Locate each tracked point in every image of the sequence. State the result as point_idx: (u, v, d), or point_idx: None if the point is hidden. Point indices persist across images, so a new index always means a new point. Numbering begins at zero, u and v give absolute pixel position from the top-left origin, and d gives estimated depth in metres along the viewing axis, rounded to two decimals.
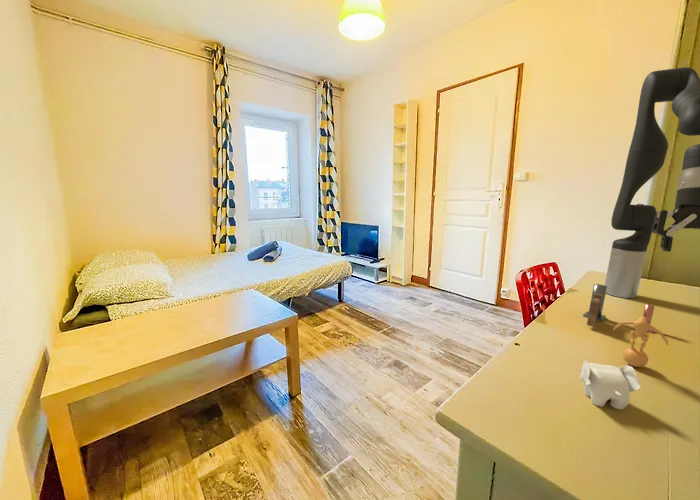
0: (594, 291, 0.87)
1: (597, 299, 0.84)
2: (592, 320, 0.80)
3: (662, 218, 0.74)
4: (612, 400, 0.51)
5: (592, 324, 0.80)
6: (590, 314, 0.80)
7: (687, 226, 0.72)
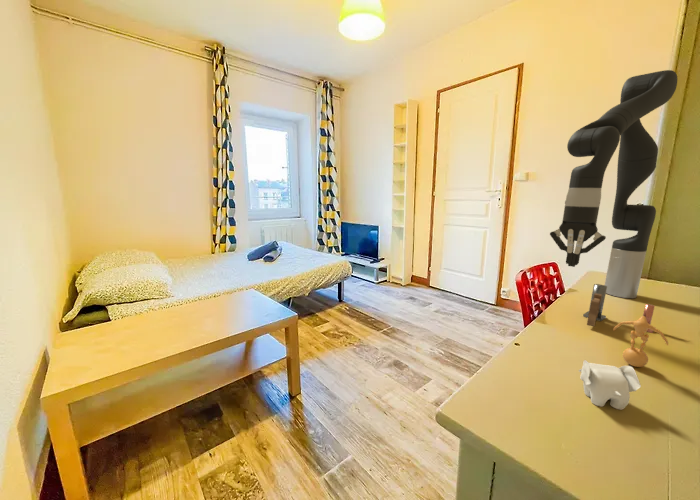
0: (594, 291, 0.87)
1: (597, 299, 0.84)
2: (592, 320, 0.80)
3: (555, 238, 0.85)
4: (612, 400, 0.51)
5: (592, 324, 0.80)
6: (590, 314, 0.80)
7: (568, 239, 0.83)
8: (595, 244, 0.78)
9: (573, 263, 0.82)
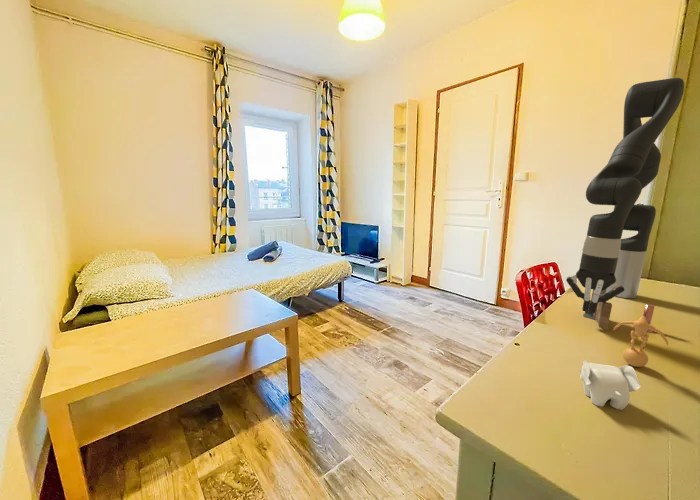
0: None
1: None
2: (605, 323, 0.78)
3: (571, 285, 0.83)
4: (612, 400, 0.51)
5: (605, 327, 0.79)
6: (603, 317, 0.78)
7: None
8: (614, 294, 0.77)
9: (590, 311, 0.81)
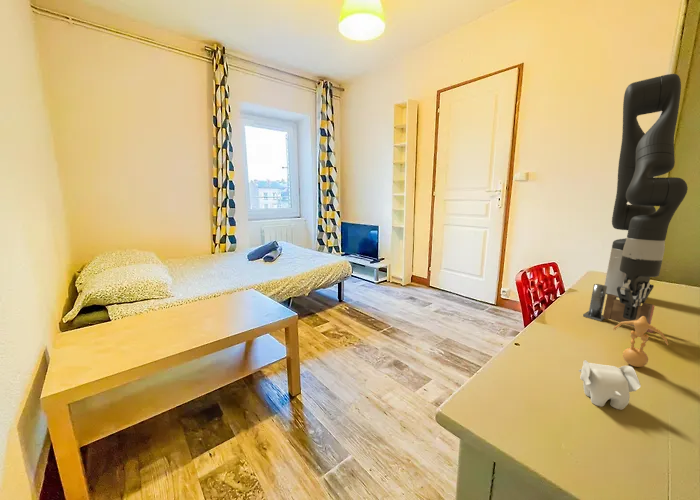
0: (594, 291, 0.87)
1: None
2: None
3: (630, 295, 0.75)
4: (612, 400, 0.51)
5: None
6: (647, 318, 0.78)
7: (636, 293, 0.76)
8: (648, 293, 0.78)
9: (635, 316, 0.78)
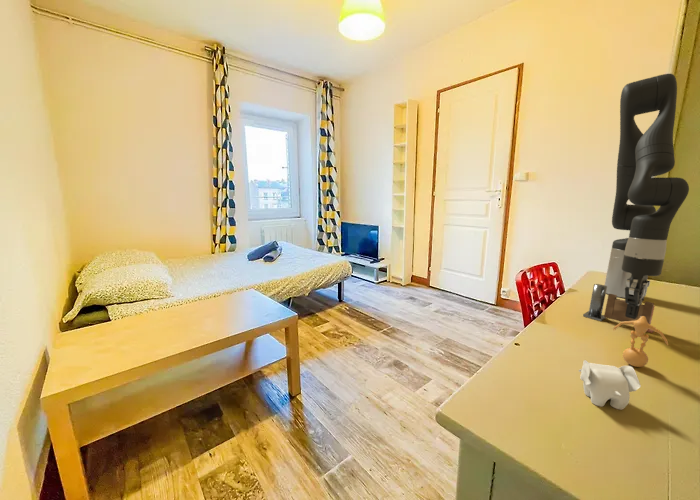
0: (594, 291, 0.87)
1: (621, 300, 0.83)
2: (649, 322, 0.79)
3: (638, 295, 0.75)
4: (612, 400, 0.51)
5: None
6: (650, 317, 0.79)
7: (640, 292, 0.77)
8: None
9: (637, 315, 0.79)
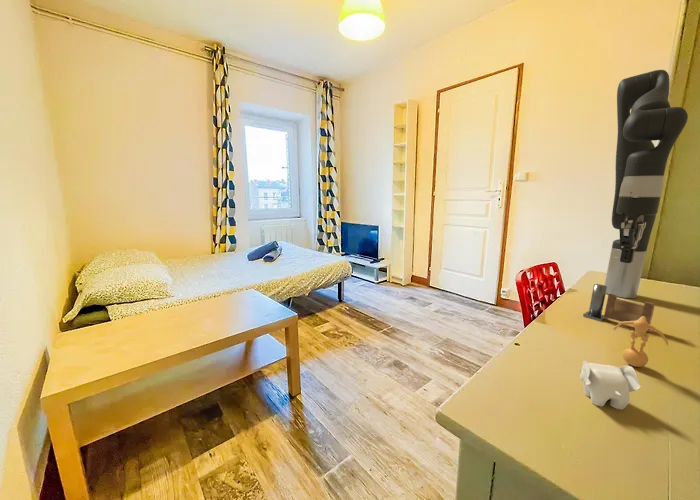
0: (594, 291, 0.87)
1: (621, 300, 0.83)
2: (649, 322, 0.79)
3: (633, 236, 0.71)
4: (612, 400, 0.51)
5: None
6: (650, 317, 0.79)
7: (635, 234, 0.73)
8: (641, 234, 0.77)
9: (632, 259, 0.76)
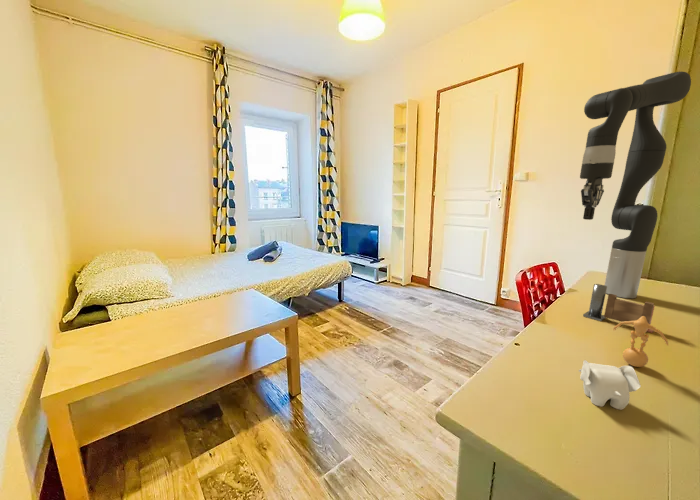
0: (594, 291, 0.87)
1: (621, 300, 0.83)
2: (649, 322, 0.79)
3: (591, 195, 0.87)
4: (612, 400, 0.51)
5: None
6: (650, 317, 0.79)
7: (594, 194, 0.89)
8: (601, 196, 0.93)
9: (593, 216, 0.92)
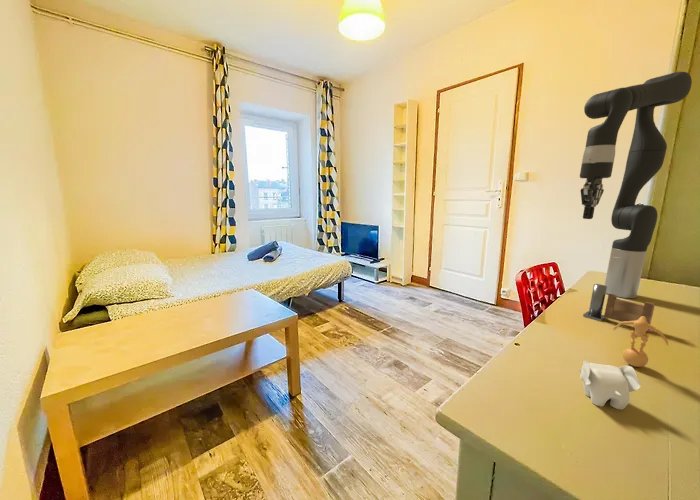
0: (594, 291, 0.87)
1: (621, 300, 0.83)
2: (649, 322, 0.79)
3: (591, 194, 0.87)
4: (612, 400, 0.51)
5: None
6: (650, 317, 0.79)
7: (594, 194, 0.89)
8: (600, 196, 0.93)
9: (592, 215, 0.92)
